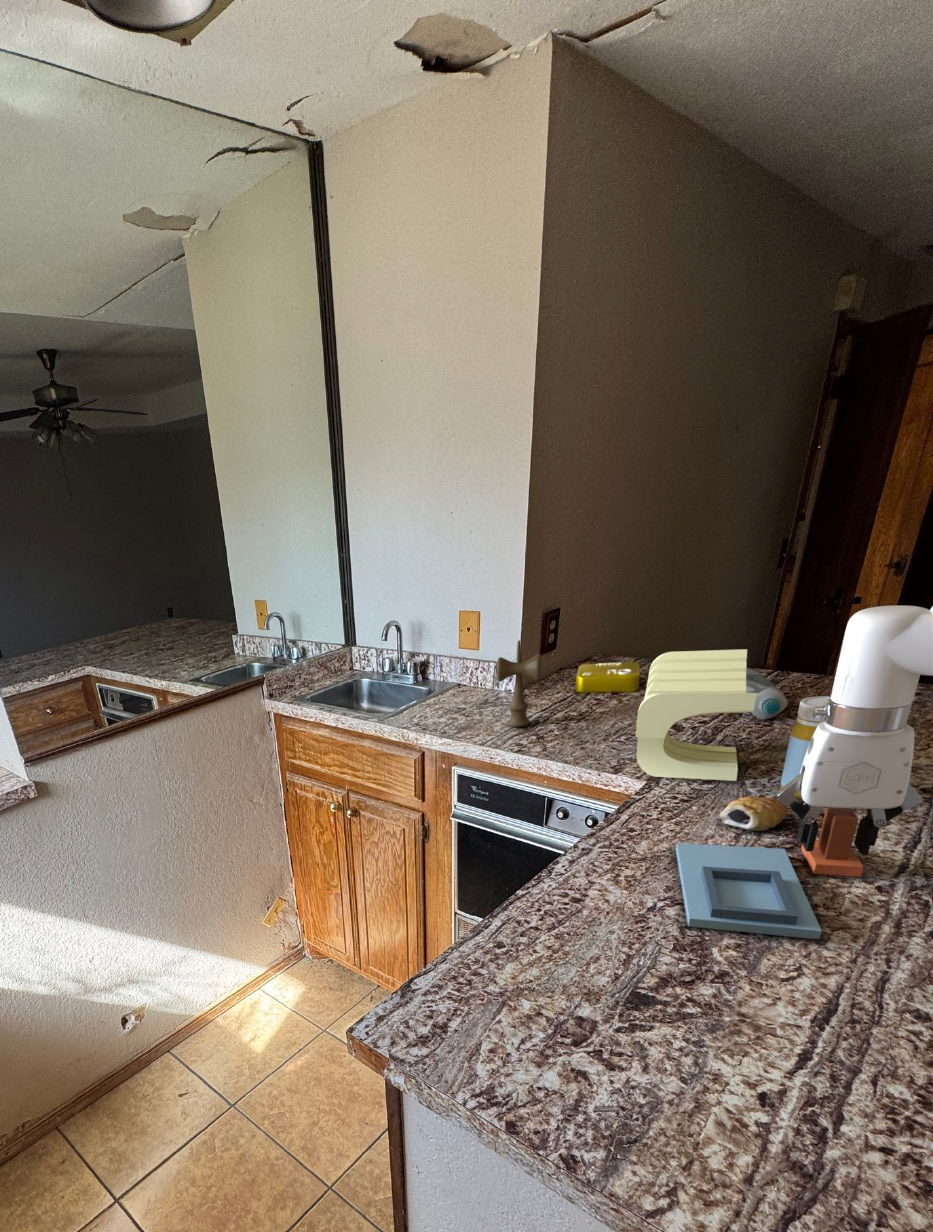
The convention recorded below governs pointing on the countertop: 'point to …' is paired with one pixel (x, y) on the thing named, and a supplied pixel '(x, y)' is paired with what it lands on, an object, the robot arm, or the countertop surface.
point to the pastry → (754, 813)
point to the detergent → (764, 695)
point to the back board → (744, 891)
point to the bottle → (801, 738)
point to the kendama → (519, 684)
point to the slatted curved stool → (690, 712)
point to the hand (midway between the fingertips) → (833, 847)
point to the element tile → (608, 677)
